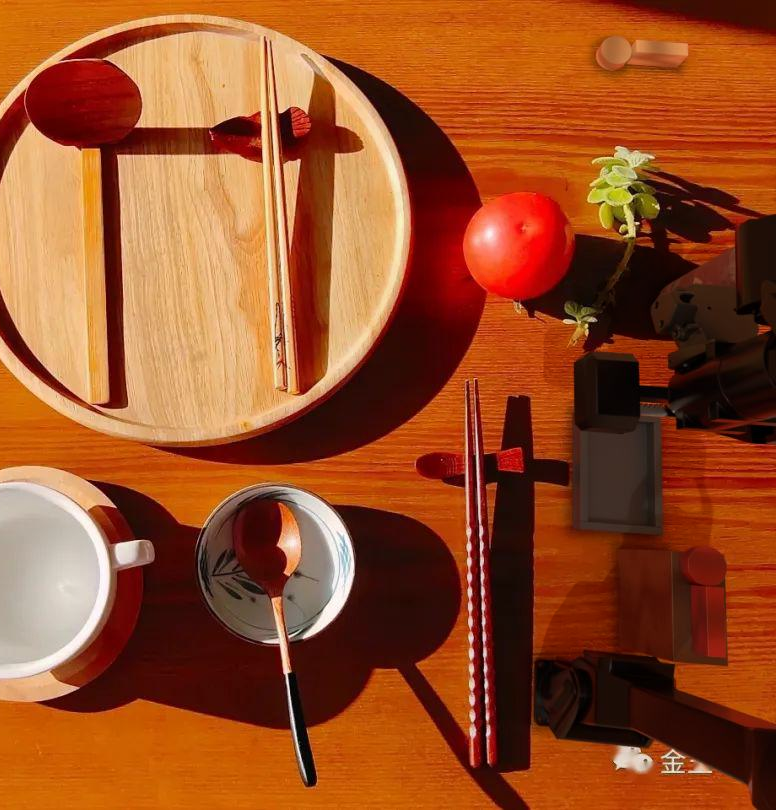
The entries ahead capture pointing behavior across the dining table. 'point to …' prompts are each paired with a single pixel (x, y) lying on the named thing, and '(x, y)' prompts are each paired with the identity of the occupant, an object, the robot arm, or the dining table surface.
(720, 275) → the can
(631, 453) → the tray
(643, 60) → the birch spoon
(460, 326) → the dining table surface
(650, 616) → the stand
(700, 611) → the red spoon
